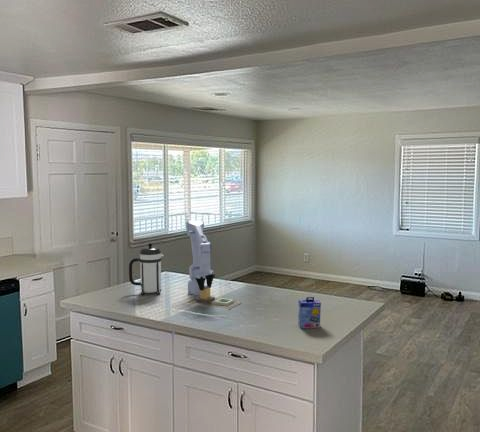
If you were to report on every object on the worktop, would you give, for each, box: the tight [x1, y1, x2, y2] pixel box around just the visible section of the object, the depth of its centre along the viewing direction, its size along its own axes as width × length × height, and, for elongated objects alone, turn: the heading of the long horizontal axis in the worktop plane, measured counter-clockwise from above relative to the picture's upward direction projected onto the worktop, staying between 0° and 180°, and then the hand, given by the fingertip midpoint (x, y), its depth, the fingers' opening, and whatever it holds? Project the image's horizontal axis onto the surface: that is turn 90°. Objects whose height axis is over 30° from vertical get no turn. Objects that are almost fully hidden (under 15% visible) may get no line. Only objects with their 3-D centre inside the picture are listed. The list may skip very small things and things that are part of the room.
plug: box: [199, 285, 211, 300], centre depth 266 cm, size 4×4×8 cm
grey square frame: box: [196, 295, 216, 303], centre depth 266 cm, size 8×8×2 cm
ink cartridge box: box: [297, 296, 322, 329], centre depth 225 cm, size 10×6×14 cm, turn 95°
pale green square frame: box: [214, 297, 235, 306], centre depth 260 cm, size 8×8×2 cm
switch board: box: [188, 297, 243, 311], centre depth 263 cm, size 26×14×1 cm, turn 61°
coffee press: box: [128, 242, 165, 296], centre depth 284 cm, size 17×16×30 cm
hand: (205, 288), depth 265 cm, fingers open, 7 cm apart
